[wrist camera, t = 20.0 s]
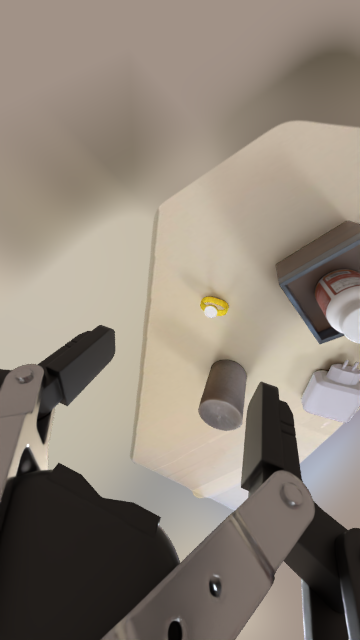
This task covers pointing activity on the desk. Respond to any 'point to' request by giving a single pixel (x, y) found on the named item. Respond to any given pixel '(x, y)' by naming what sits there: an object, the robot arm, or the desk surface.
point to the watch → (213, 307)
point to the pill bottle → (341, 301)
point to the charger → (334, 392)
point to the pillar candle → (224, 396)
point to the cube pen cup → (319, 274)
